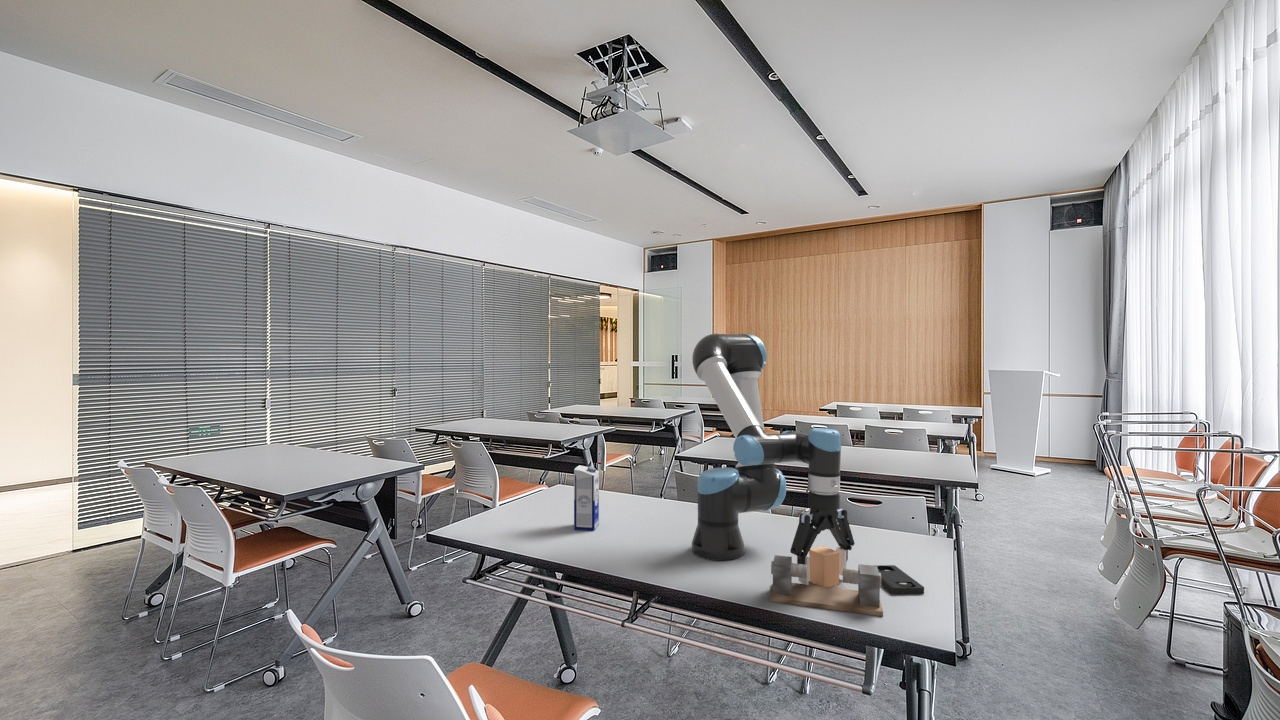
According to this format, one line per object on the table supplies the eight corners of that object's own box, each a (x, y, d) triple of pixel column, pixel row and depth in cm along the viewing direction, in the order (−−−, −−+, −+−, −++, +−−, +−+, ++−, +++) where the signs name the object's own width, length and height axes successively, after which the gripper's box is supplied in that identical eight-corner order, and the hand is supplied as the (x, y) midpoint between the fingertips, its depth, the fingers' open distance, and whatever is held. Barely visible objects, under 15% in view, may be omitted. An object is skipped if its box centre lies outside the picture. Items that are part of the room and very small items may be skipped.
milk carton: (579, 523, 187) (579, 464, 187) (598, 524, 186) (598, 464, 186) (573, 530, 180) (573, 468, 180) (594, 531, 179) (594, 469, 179)
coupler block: (824, 588, 135) (824, 555, 135) (809, 581, 139) (809, 549, 139) (839, 584, 137) (839, 552, 137) (823, 577, 142) (823, 546, 142)
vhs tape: (924, 595, 132) (925, 587, 132) (892, 596, 132) (892, 588, 132) (894, 572, 146) (894, 564, 146) (865, 572, 146) (865, 565, 146)
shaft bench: (769, 601, 128) (769, 566, 128) (773, 584, 137) (773, 552, 137) (883, 616, 120) (883, 579, 120) (878, 597, 130) (878, 563, 130)
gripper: (797, 499, 129) (796, 592, 129) (870, 490, 140) (869, 575, 140) (776, 492, 136) (774, 581, 136) (847, 484, 147) (845, 565, 147)
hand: (822, 578), depth 138 cm, fingers open, 12 cm apart
